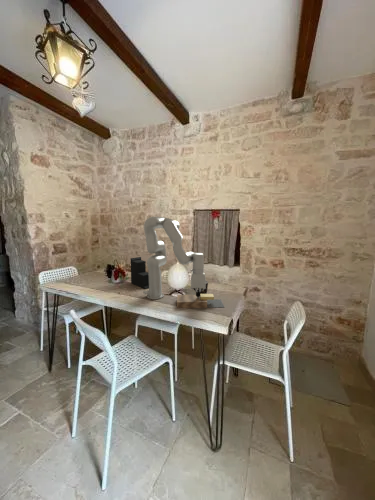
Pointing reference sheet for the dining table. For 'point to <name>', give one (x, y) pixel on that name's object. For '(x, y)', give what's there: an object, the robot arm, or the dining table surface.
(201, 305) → the brown flat block
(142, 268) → the bookend
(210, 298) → the yellow flat block
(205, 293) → the coffee mug
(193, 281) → the robot arm
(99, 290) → the dining table surface
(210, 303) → the mat
